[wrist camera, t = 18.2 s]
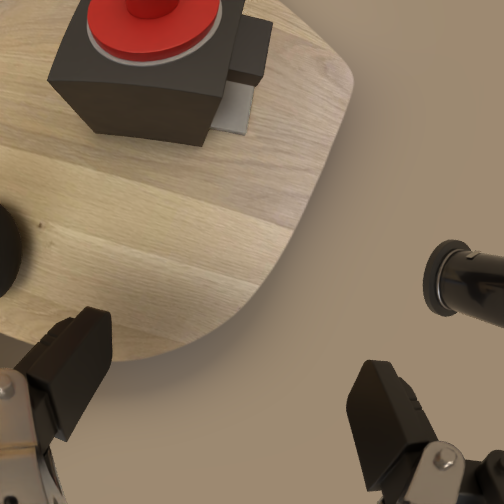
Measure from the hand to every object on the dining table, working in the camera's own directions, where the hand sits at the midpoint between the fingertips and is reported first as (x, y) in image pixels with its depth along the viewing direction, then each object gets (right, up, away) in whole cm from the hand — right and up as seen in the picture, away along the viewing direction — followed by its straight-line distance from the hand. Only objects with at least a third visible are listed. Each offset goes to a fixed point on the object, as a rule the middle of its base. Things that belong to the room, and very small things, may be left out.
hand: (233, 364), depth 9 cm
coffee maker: (-7, +19, +20) cm, 29 cm away
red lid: (-6, +18, +6) cm, 20 cm away
